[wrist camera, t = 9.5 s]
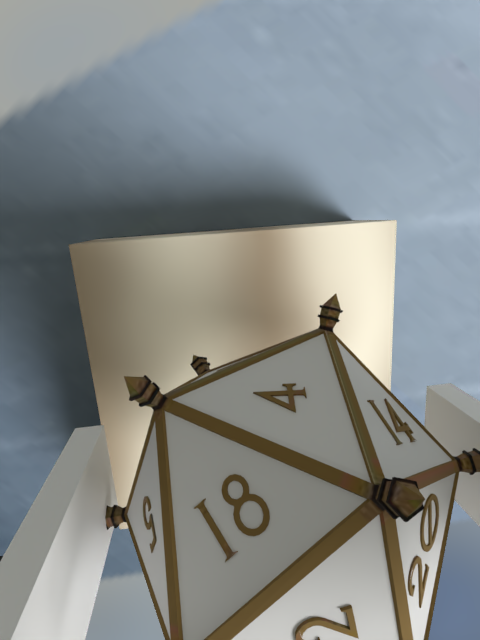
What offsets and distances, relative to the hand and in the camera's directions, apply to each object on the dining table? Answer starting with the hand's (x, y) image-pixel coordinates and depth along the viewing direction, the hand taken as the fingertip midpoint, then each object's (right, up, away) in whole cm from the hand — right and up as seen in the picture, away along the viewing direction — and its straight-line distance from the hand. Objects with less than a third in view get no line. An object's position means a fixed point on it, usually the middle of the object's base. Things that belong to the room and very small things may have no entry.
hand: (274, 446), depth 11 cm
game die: (0, 0, +2) cm, 2 cm away
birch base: (-1, +2, +8) cm, 8 cm away
